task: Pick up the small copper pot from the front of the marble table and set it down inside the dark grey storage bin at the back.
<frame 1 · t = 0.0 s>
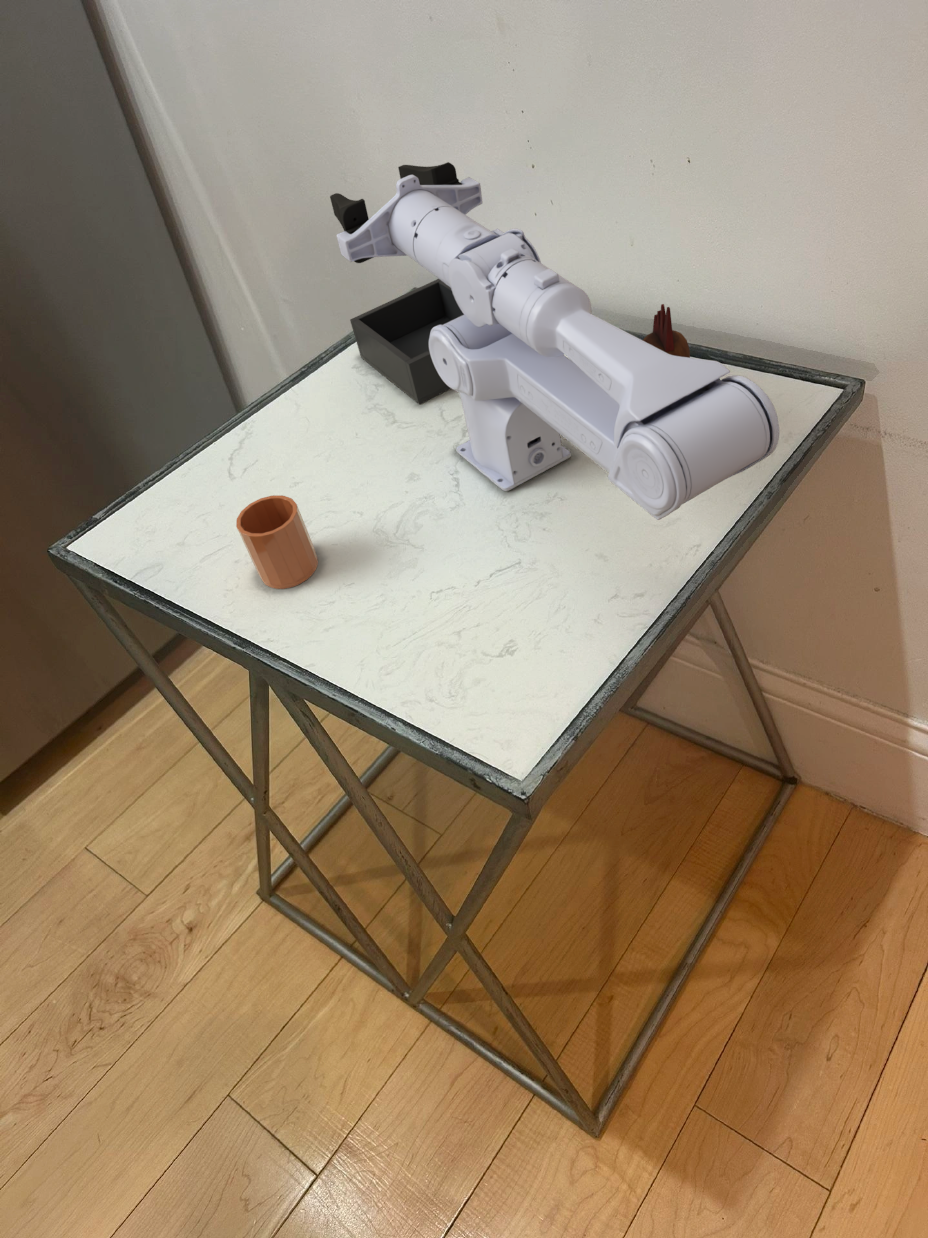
hand: (369, 189, 92), 22 cm above the table, tool horizontal, fingers open, 7 cm apart
dark grey storage bin: (434, 357, 111), on the table
wooden figurine: (667, 442, 91), on the table
pot: (289, 568, 89), on the table
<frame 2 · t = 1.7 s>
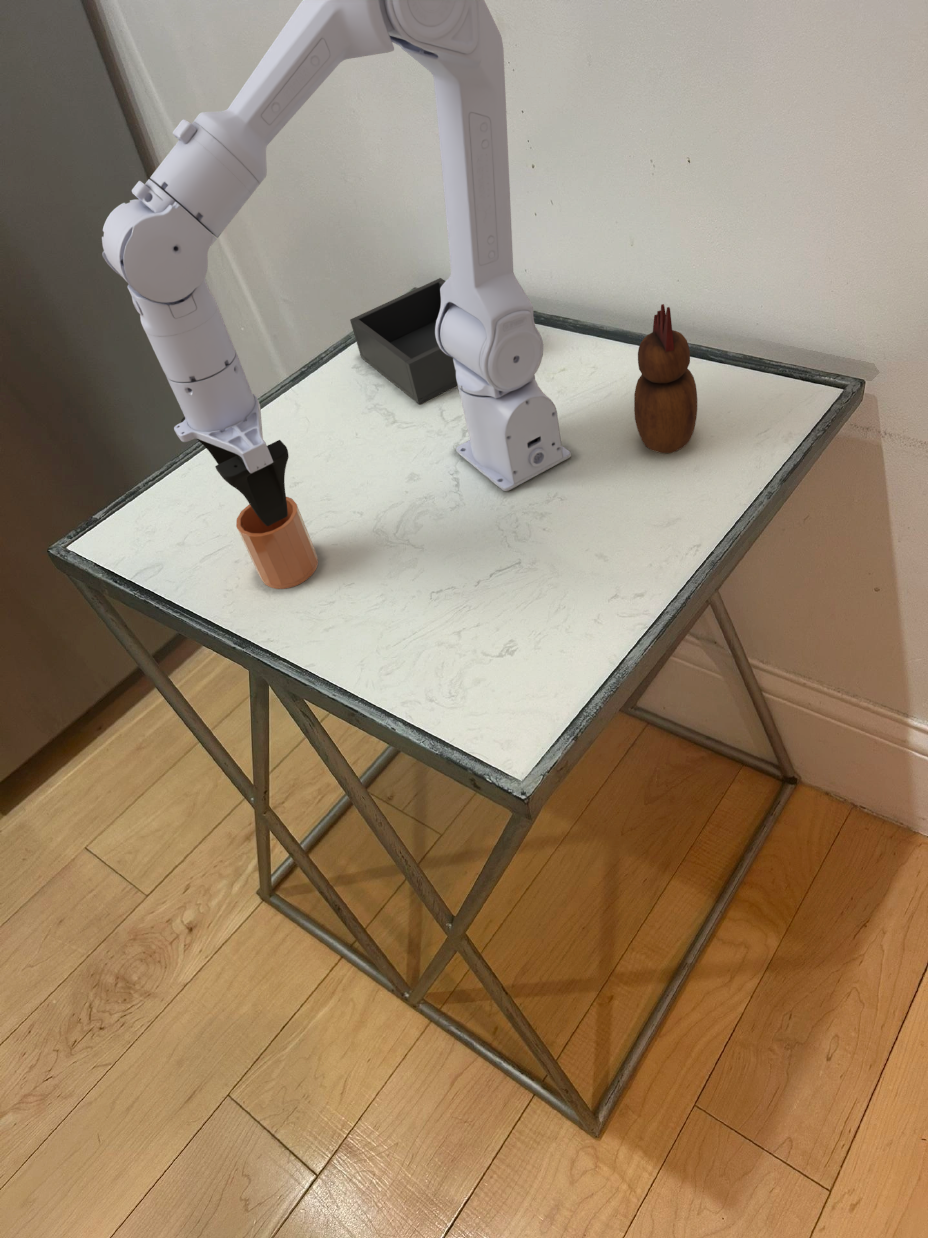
hand: (259, 498, 83), 8 cm above the table, tool pointing down, fingers open, 7 cm apart
nothing on the table moved.
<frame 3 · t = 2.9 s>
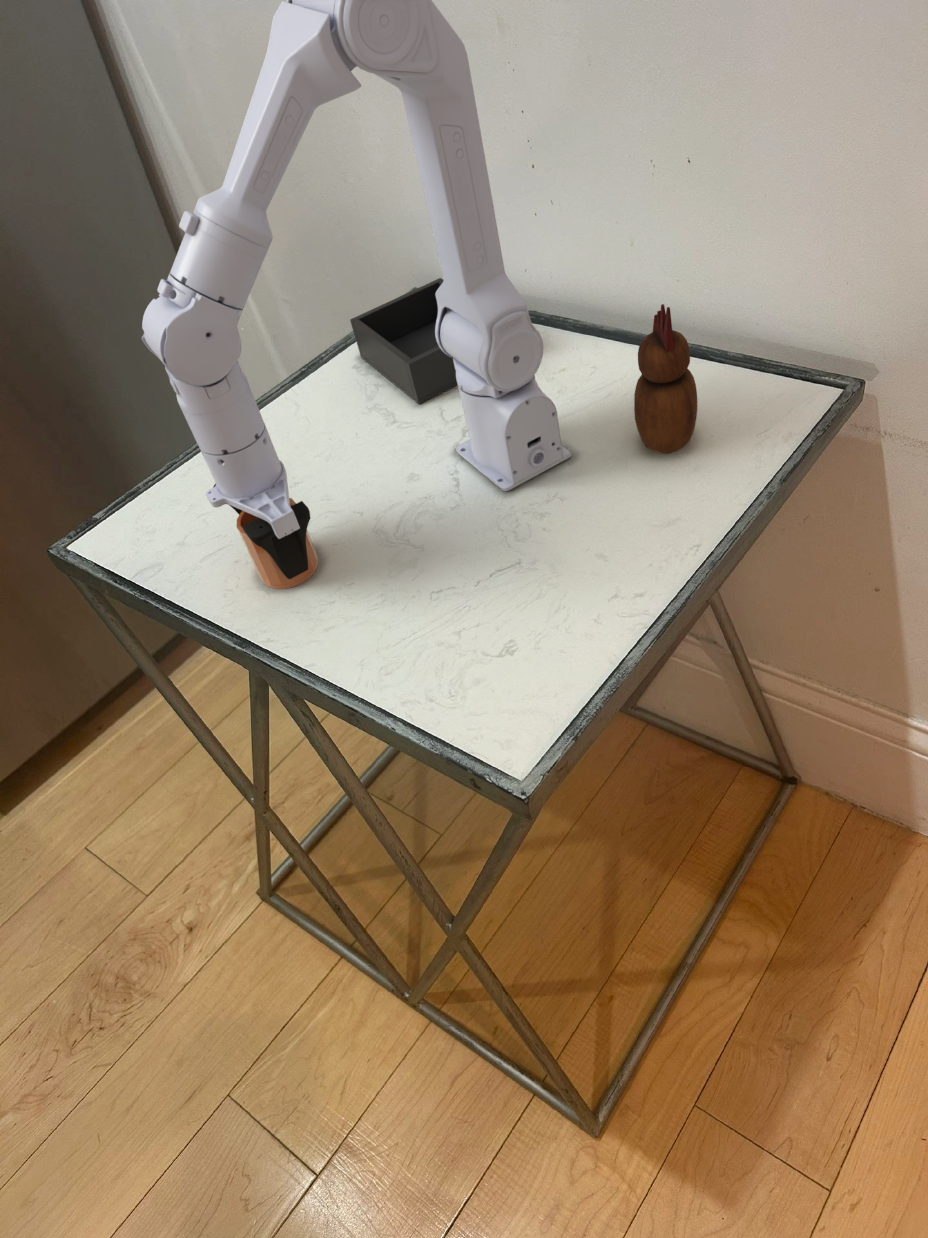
hand: (283, 555, 87), 2 cm above the table, tool pointing down, fingers closed on pot, 5 cm apart
pot: (289, 568, 89), on the table, touching gripper
everything else where it was.
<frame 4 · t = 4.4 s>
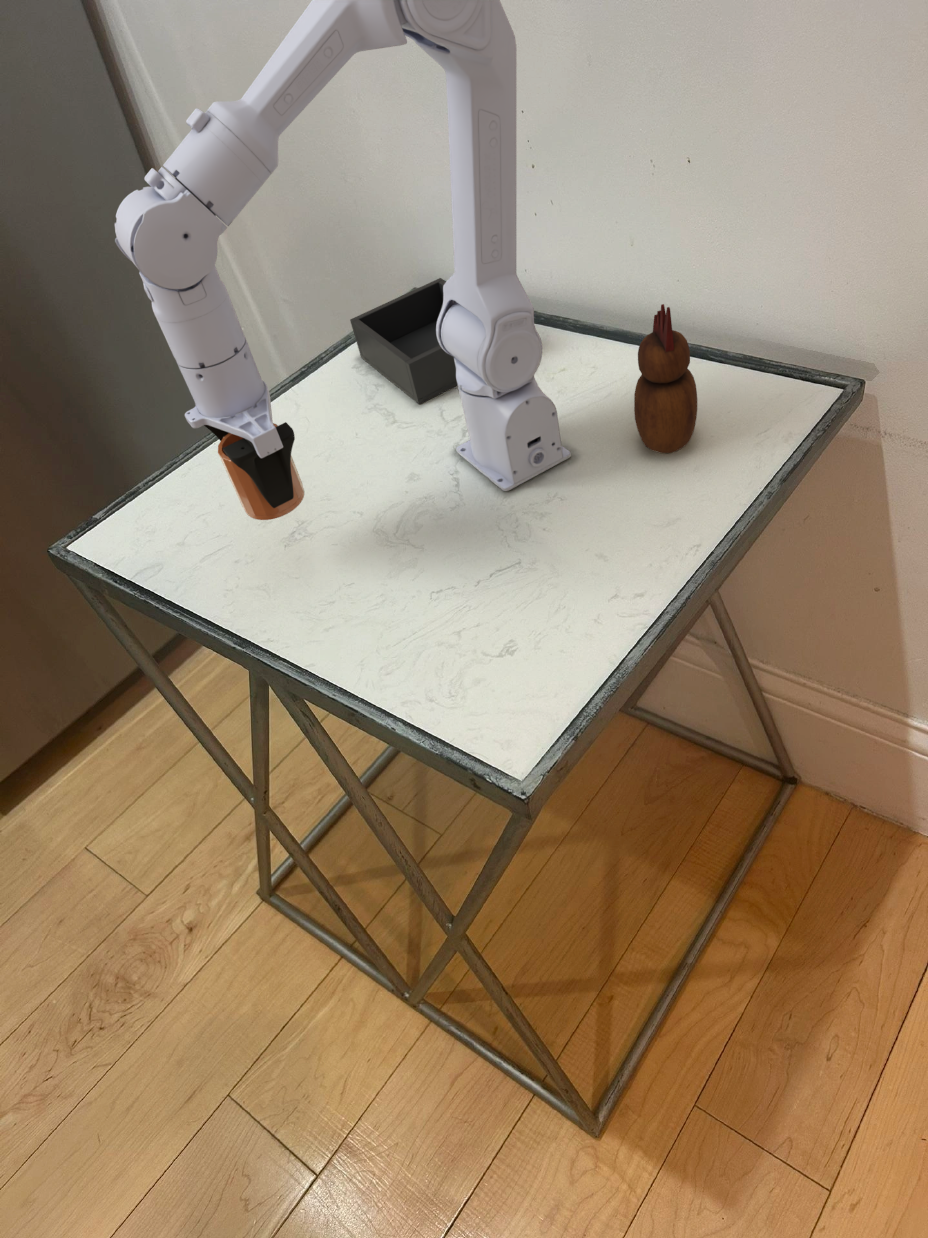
hand: (268, 485, 84), 9 cm above the table, tool pointing down, fingers closed on pot, 5 cm apart
pot: (274, 499, 85), point 7 cm above the table, touching gripper
everything else where it was.
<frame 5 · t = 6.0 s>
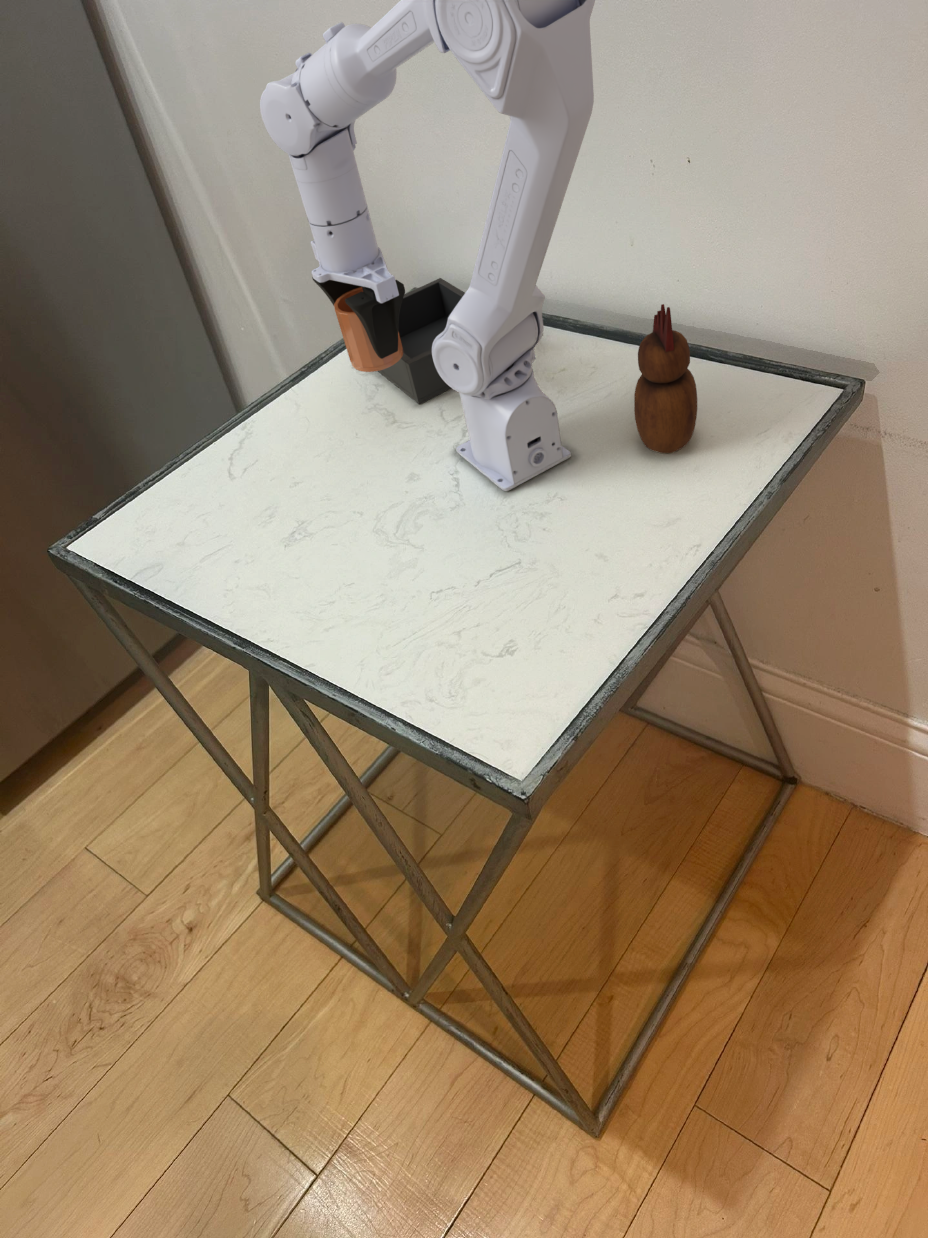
hand: (374, 343, 97), 9 cm above the table, tool pointing down, fingers closed on pot, 5 cm apart
pot: (377, 357, 98), point 7 cm above the table, touching gripper
everything else where it was.
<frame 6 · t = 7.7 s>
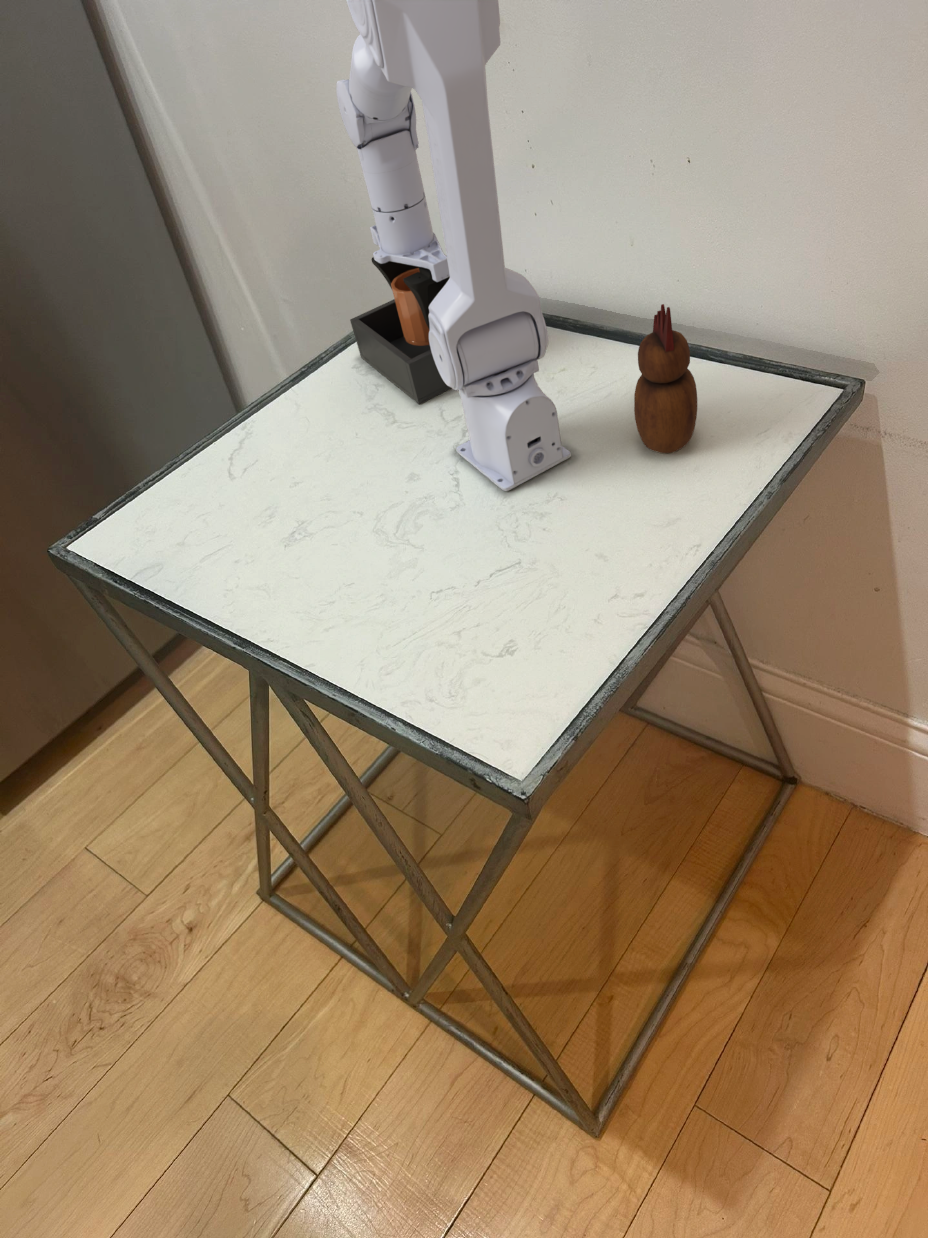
hand: (425, 319, 107), 5 cm above the table, tool pointing down, fingers closed on pot, 5 cm apart
pot: (428, 332, 108), point 3 cm above the table, touching gripper
everything else where it was.
when the fingers open (2 cm above the table, at t = 9.1 s): pot stays where it is, resting on dark grey storage bin.
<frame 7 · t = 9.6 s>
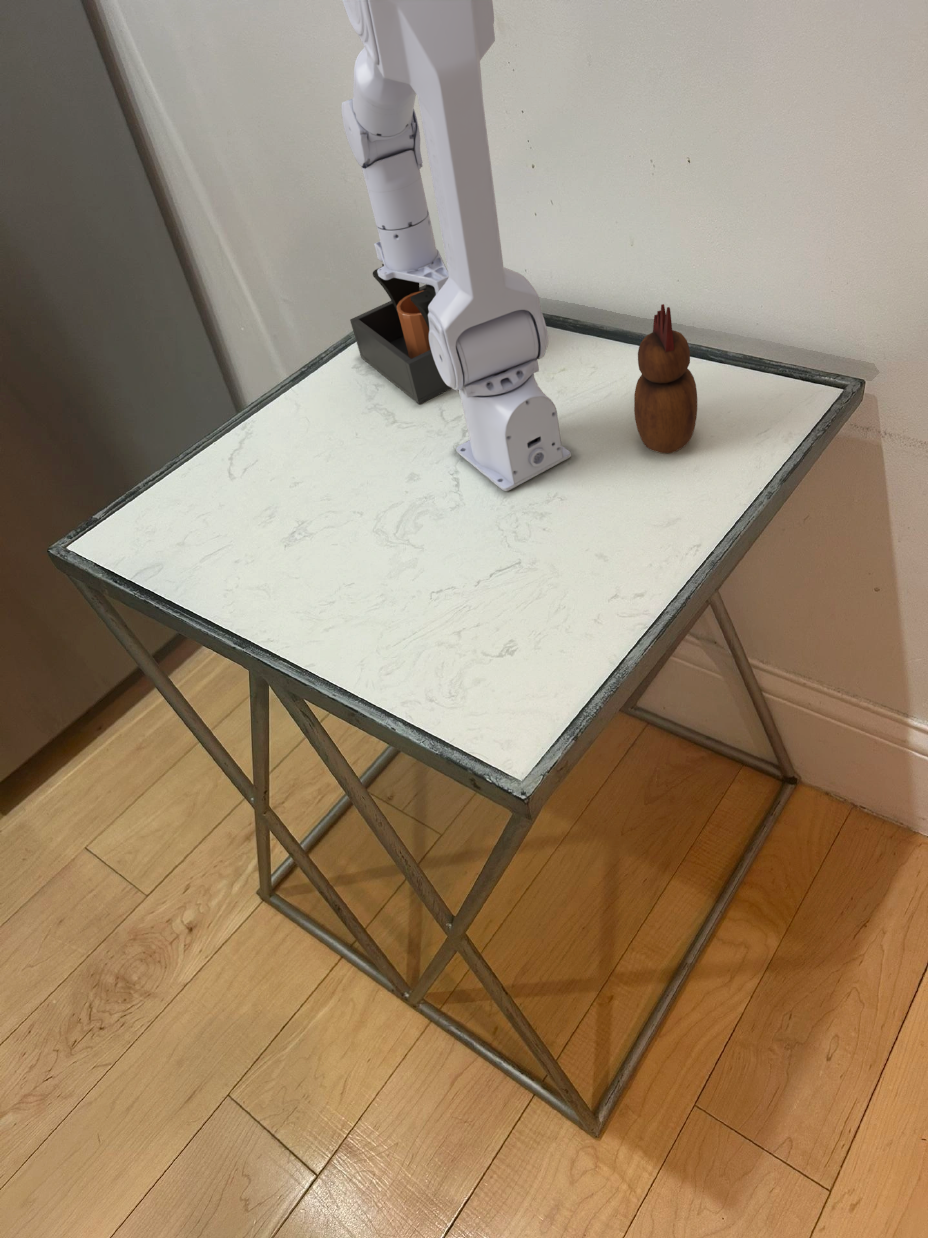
hand: (429, 334, 108), 3 cm above the table, tool pointing down, fingers open, 7 cm apart
pot: (433, 353, 110), point 1 cm above the table, touching dark grey storage bin
everything else where it was.
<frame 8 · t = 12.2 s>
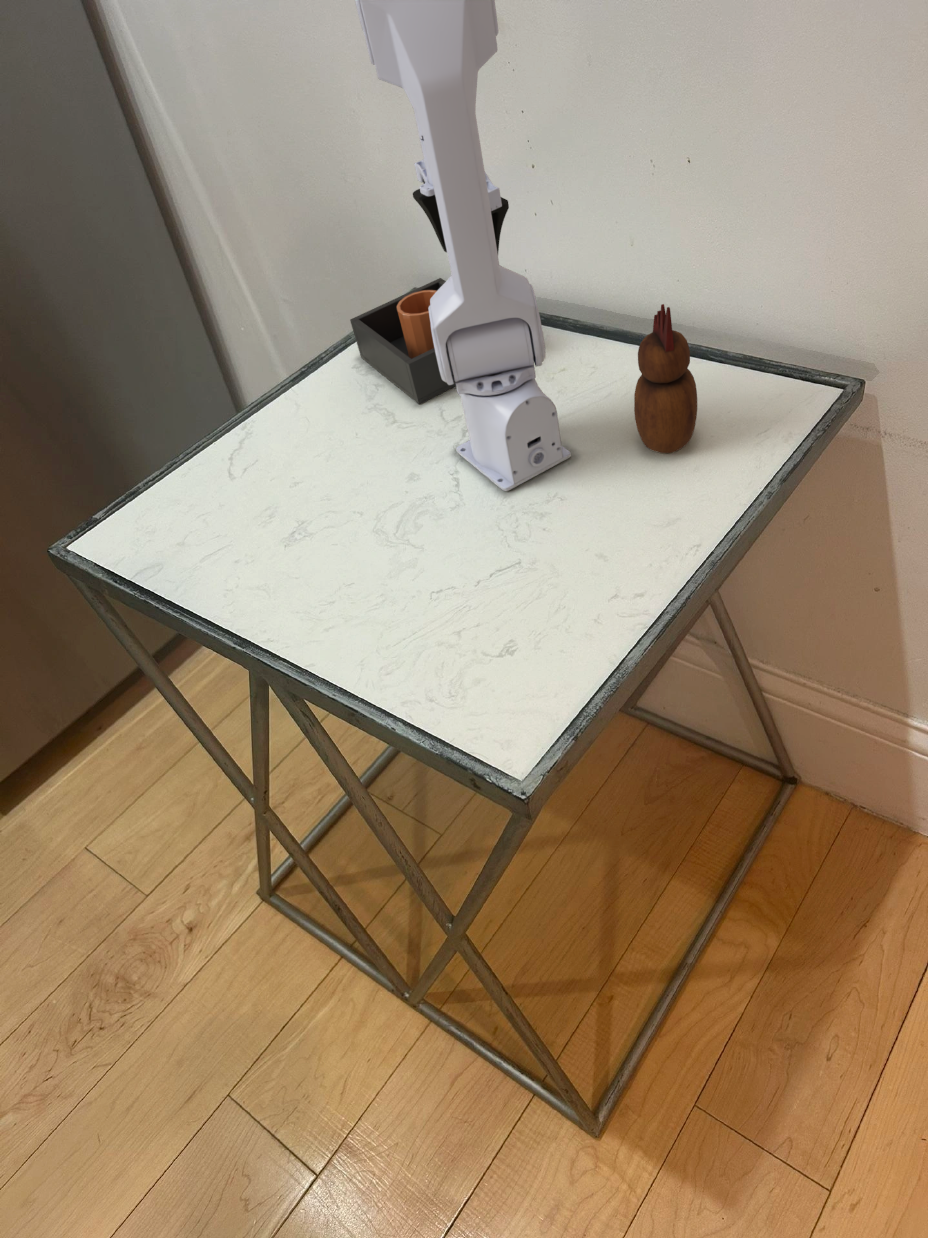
hand: (470, 258, 106), 9 cm above the table, tool pointing down, fingers open, 7 cm apart
nothing on the table moved.
at the end: pot inside the target area in the dark grey storage bin (0.1 cm from its centre), point 0.6 cm above the dark grey storage bin's base; pot tilted 0°; the gripper is holding nothing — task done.
